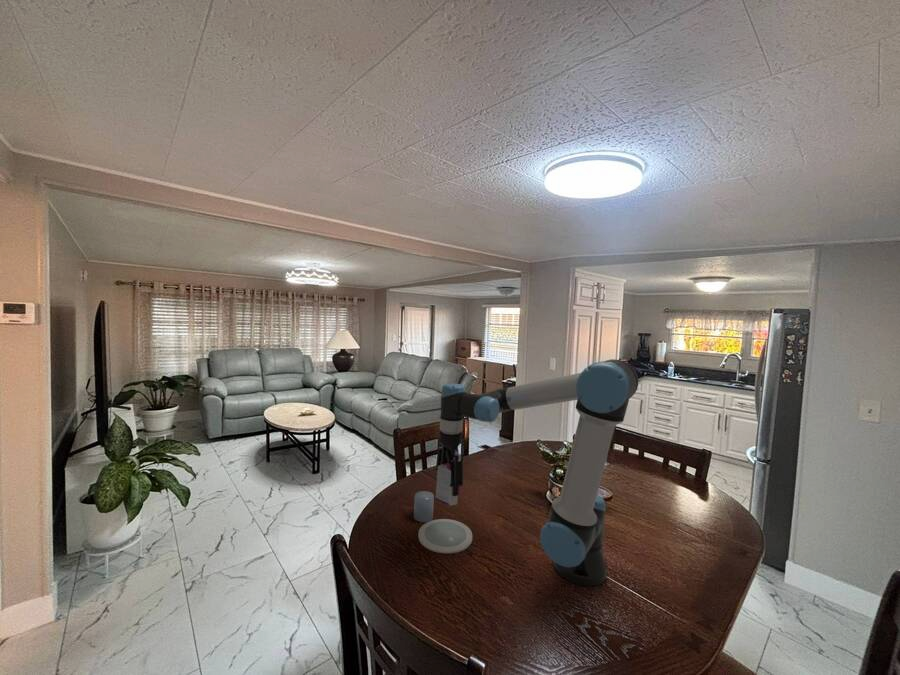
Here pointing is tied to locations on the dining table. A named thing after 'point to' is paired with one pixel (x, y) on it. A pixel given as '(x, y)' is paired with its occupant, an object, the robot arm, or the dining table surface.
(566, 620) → the dining table surface
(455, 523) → the dish
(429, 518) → the cylinder block
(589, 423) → the robot arm
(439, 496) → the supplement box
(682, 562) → the dining table surface
